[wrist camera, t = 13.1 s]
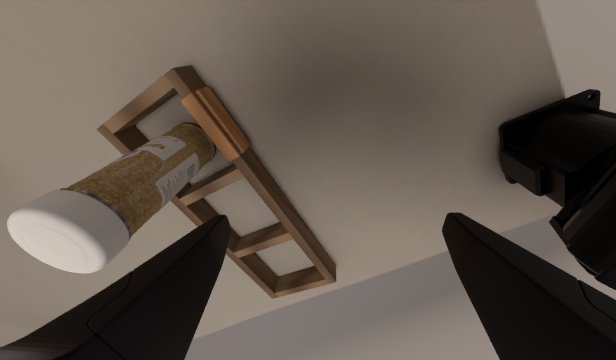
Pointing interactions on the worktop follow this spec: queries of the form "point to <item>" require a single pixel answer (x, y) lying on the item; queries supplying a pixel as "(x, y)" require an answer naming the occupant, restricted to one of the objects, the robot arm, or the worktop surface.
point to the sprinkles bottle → (110, 202)
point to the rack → (226, 182)
